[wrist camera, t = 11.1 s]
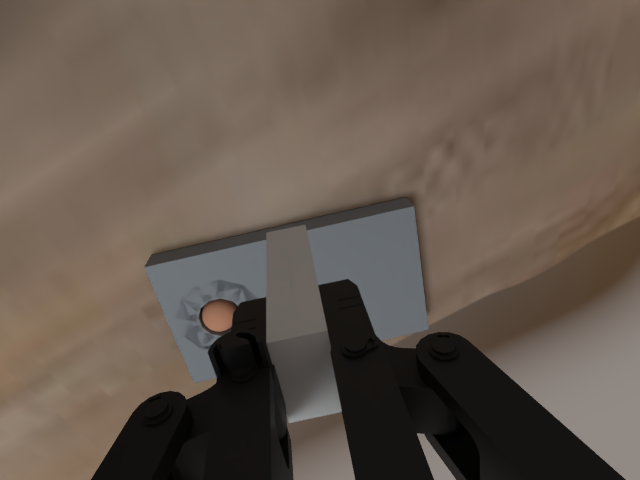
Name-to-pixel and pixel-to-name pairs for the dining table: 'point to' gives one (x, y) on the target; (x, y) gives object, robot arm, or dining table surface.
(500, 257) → the dining table surface
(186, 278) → the plate
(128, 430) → the robot arm
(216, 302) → the ball
